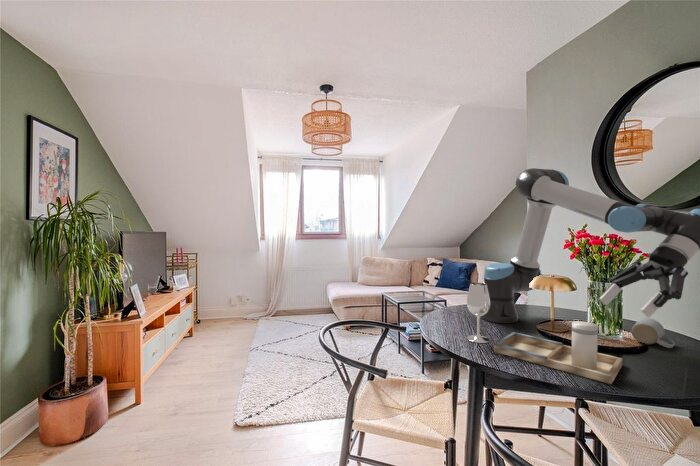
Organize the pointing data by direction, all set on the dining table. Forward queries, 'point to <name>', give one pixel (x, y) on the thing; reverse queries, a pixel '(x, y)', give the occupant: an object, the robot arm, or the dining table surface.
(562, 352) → the bay tray
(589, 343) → the domed white canister
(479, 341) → the wineglass
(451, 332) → the dining table surface
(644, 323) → the ceramic mug
